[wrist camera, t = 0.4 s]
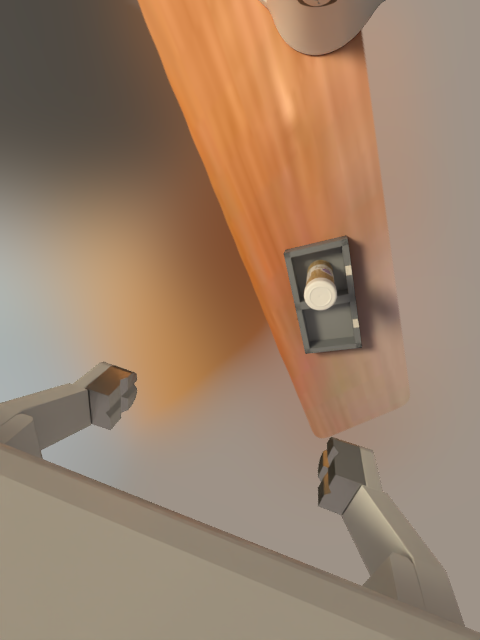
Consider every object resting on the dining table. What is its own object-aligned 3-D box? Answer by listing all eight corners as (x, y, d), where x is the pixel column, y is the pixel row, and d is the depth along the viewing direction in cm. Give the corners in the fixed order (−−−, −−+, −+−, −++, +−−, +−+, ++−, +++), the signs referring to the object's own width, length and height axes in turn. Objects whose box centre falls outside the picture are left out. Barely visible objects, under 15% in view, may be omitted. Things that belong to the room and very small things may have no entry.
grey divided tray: (285, 249, 51) (283, 253, 48) (345, 235, 48) (347, 238, 44) (306, 344, 58) (305, 354, 55) (359, 338, 55) (362, 348, 52)
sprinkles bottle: (336, 262, 49) (342, 285, 38) (327, 286, 52) (331, 315, 40) (311, 256, 50) (309, 277, 38) (303, 279, 52) (299, 306, 40)
